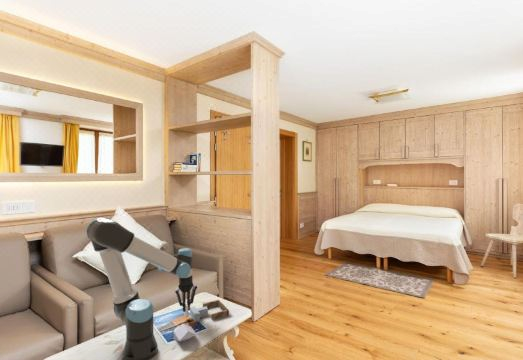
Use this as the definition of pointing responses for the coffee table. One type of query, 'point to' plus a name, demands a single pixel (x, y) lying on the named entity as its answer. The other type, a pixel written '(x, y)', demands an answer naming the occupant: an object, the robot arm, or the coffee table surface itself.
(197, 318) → the t block
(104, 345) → the coffee table surface
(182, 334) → the pale lavender faceted block
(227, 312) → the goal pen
